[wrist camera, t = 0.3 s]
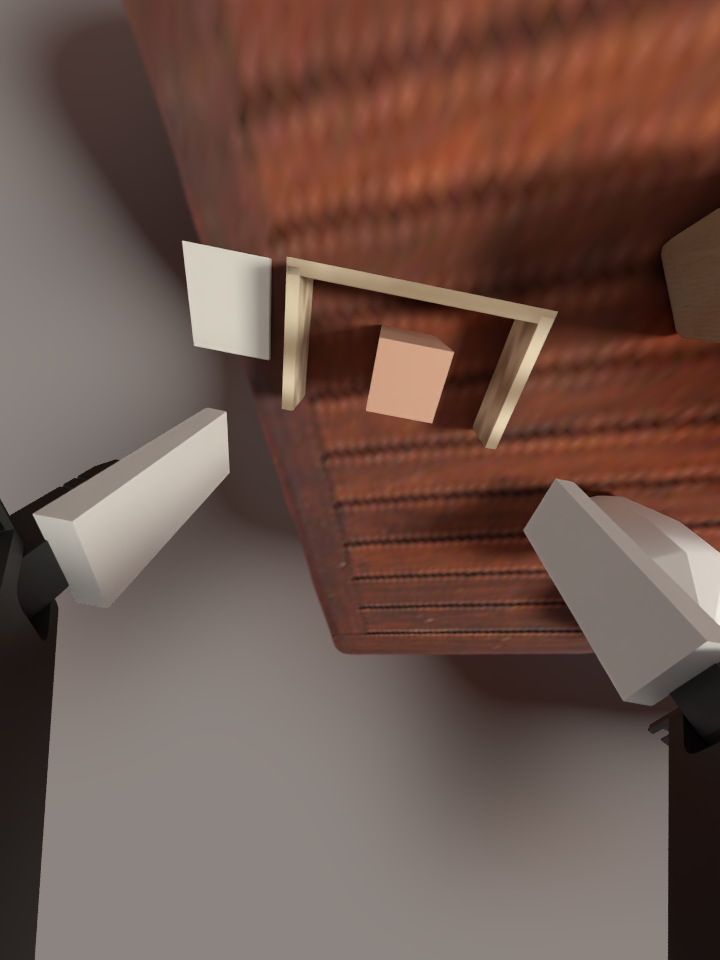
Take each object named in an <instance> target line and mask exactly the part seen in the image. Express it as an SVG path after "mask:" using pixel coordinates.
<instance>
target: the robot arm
mask: <svg viewBox="0 0 720 960" xmlns="http://www.w3.org/2000/svg"><path fill="white" fill-rule="evenodd" d="M228 474H229V454H228V435H227V414H226V411H221V410H215V409H211V408H205V409H203V410H202V411H200V412H198V413H197V414H195V415H194V416H192V417H191V418H189V419H187V420H185V421H184V422H182V423H180V424H179V425H177V426H176V427H174V428H172V429H171V430H169V431H167V432H166V433H164V434H163V435H161V436H159V437H158V438H156V439H154V440H153V441H151V442H149V443H148V444H146V445H144V446H143V447H141V448H140V449H138V450H136V451H135V452H133V453H131V454H130V455H128V456H126V457H125V458H123V459H122V460H113V461H110V462H107V463H103V464H100V465H97V466H94V467H93V468H91V469H89V470H87V471H86V472H84V473H82V474H81V475H79V476H78V478H74V479H72V480H70V481H69V482H67V483H65V484H64V486H63V487H58V488H56V489H55V490H53V491H51V492H49V493H48V494H46V495H44V496H43V497H41V498H39V499H37V500H36V501H34V502H32V503H30V504H29V505H27V506H25V507H24V508H22V509H20V510H18V511H17V512H15V513H13V514H11V515H10V516H9V514H8V512H7V510H6V508H5V507H4V505H3V503H2V501H1V499H0V960H35V945H36V932H37V916H38V902H39V887H40V873H41V872H40V871H41V857H42V842H43V828H44V813H45V799H46V784H47V770H48V754H49V741H50V726H51V725H50V724H51V711H52V696H53V682H54V667H55V652H56V638H57V623H58V605H57V602H56V600H55V598H56V597H57V596H58V595H59V594H60V593H62V591H64V590H65V589H66V588H67V587H69V589H70V591H71V593H72V595H73V597H74V599H75V601H76V602H77V603H82V604H88V605H93V606H99V607H104V608H109V606H110V605H111V604H112V603H113V602H114V601H115V600H116V598H117V597H118V596H119V595H120V594H121V593H122V592H123V591H124V590H125V589H126V587H127V586H128V585H129V584H130V583H131V582H132V581H133V580H134V579H135V577H136V576H137V575H138V574H139V573H140V571H142V569H143V568H144V567H145V566H146V565H147V564H148V563H149V562H150V561H151V560H152V558H153V557H154V556H155V555H156V554H157V553H158V552H159V551H160V549H161V548H162V547H163V546H164V545H165V544H166V543H167V542H168V541H169V540H170V538H171V537H172V536H173V535H174V534H175V533H176V532H177V531H178V529H179V528H180V527H181V526H182V525H183V524H184V523H185V522H186V521H187V519H188V518H189V517H190V516H191V515H192V514H193V513H194V511H196V509H197V508H198V507H199V506H200V505H201V504H202V503H203V501H204V500H205V499H206V498H207V497H208V496H209V495H210V494H211V493H212V492H213V490H214V489H215V488H216V487H217V486H218V485H219V484H220V483H221V481H222V480H223V479H224V478H225V477H226V476H227V475H228ZM523 531H524V533H525V534H526V536H527V538H528V540H529V541H530V543H531V545H532V546H533V548H534V550H535V551H536V553H537V555H538V557H539V558H540V560H541V562H542V563H543V565H544V567H545V568H546V570H547V572H548V574H549V575H550V577H551V579H552V580H553V582H554V584H555V586H556V587H557V589H558V591H559V592H560V594H561V596H562V597H563V599H564V601H565V603H566V604H567V606H568V608H569V609H570V611H571V613H572V614H573V616H574V618H575V620H576V621H577V623H578V625H579V626H580V628H581V630H582V631H583V633H584V635H585V637H586V638H587V640H588V642H589V643H590V645H591V647H592V648H593V650H594V652H595V654H596V655H597V657H598V659H599V660H600V662H601V664H602V665H603V667H604V669H605V670H606V672H607V674H608V676H609V677H610V679H611V681H612V683H613V684H614V686H615V687H616V689H617V691H618V693H619V694H620V696H621V698H622V699H623V701H627V702H633V703H638V704H643V705H649V706H652V705H654V704H656V703H657V702H659V701H660V700H662V699H663V698H665V697H666V696H668V695H669V694H670V695H671V696H672V698H673V699H674V701H675V702H676V704H677V705H678V706H679V707H678V708H677V709H675V710H673V711H672V712H670V713H669V714H667V715H665V716H663V717H662V718H660V719H659V720H657V721H655V722H654V723H652V724H650V726H649V728H648V731H650V732H651V733H652V734H654V733H656V732H657V731H659V730H661V729H665V730H667V731H669V735H667V736H665V737H664V738H662V739H661V740H662V741H663V742H664V743H665V744H667V745H668V746H669V839H668V840H669V841H668V842H669V843H668V844H669V848H668V852H669V854H668V855H669V856H668V865H669V866H668V960H720V626H719V625H718V624H717V623H716V622H715V621H714V620H713V619H712V618H711V617H710V616H709V615H708V614H707V613H706V612H705V611H704V610H703V609H702V608H701V607H700V606H699V605H698V604H697V603H696V602H695V601H694V600H693V599H692V598H691V597H690V596H689V595H688V594H687V593H686V592H685V591H684V590H683V589H682V588H681V587H680V586H679V585H678V584H677V583H676V582H675V581H674V580H673V579H672V578H671V577H670V576H669V575H668V574H667V573H666V572H665V571H664V570H662V569H661V568H660V567H659V566H658V565H657V564H656V563H655V562H654V561H653V560H652V559H651V558H650V557H649V556H648V555H647V554H646V553H645V552H644V551H643V550H642V549H641V548H640V547H639V546H638V545H637V544H636V543H635V542H634V541H633V540H632V539H631V538H630V537H629V536H628V535H627V534H626V533H625V532H624V531H623V530H622V529H621V528H620V527H619V526H618V525H617V524H616V523H615V522H614V521H613V520H612V519H611V518H610V517H609V516H608V515H607V514H606V513H605V512H604V511H603V510H602V509H601V508H600V507H598V506H597V505H596V504H595V503H594V502H593V501H592V500H591V499H590V498H589V497H588V496H587V495H586V494H585V493H584V492H583V491H582V490H581V489H580V488H579V487H578V486H577V485H576V484H575V483H574V482H570V481H565V480H560V479H555V480H554V482H553V483H552V485H551V486H550V488H549V490H548V491H547V493H546V494H545V496H544V498H543V499H542V501H541V503H540V504H539V506H538V507H537V509H536V511H535V512H534V514H533V515H532V517H531V519H530V520H529V522H528V523H527V525H526V527H525V528H524V530H523Z"/></svg>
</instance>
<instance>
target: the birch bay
mask: <svg viewBox="0 0 720 960" xmlns="http://www.w3.org/2000/svg"><path fill="white" fill-rule="evenodd" d="M314 279H316V280H321V281H326V282H331V283H336V284H341V285H346V286H351V287H356V288H361V289H366V290H371V291H376V292H381V293H386V294H391V295H396V296H401V297H406V298H411V299H416V300H421V301H426V302H431V303H436V304H441V305H446V306H451V307H456V308H461V309H466V310H470V311H475V312H480V313H485V314H490V315H495V316H500V317H505V318H510V319H515V320H514V323H513V325H512V328H511V330H510V333H509V335H508V338H507V340H506V343H505V346H504V348H503V351H502V353H501V356H500V358H499V361H498V363H497V366H496V369H495V371H494V374H493V376H492V379H491V381H490V384H489V386H488V389H487V391H486V394H485V397H484V399H483V402H482V404H481V407H480V409H479V412H478V414H477V417H476V419H475V422H474V425H473V427H472V428H473V429H474V431H475V432H476V434H477V435H478V437H479V439H480V440H481V442H482V443H483V445H484V446H485V447H486V448H491V449H496V447H497V445H498V443H499V441H500V438H501V436H502V434H503V432H504V430H505V427H506V425H507V423H508V421H509V419H510V416H511V414H512V412H513V410H514V408H515V405H516V403H517V401H518V399H519V397H520V394H521V392H522V390H523V388H524V386H525V383H526V381H527V379H528V377H529V375H530V372H531V370H532V368H533V366H534V364H535V361H536V359H537V357H538V355H539V353H540V350H541V348H542V346H543V344H544V342H545V339H546V337H547V335H548V333H549V331H550V328H551V326H552V324H553V322H554V320H555V317H556V315H557V313H558V311H553V310H548V309H543V308H538V307H533V306H528V305H523V304H518V303H513V302H509V301H504V300H499V299H494V298H489V297H484V296H479V295H474V294H469V293H464V292H459V291H454V290H449V289H444V288H439V287H434V286H430V285H425V284H420V283H415V282H410V281H405V280H400V279H395V278H390V277H385V276H380V275H375V274H370V273H365V272H360V271H355V270H351V269H346V268H341V267H336V266H331V265H326V264H321V263H316V262H311V261H306V260H301V259H296V258H291V257H287V269H286V299H285V329H284V359H283V389H282V409H286V410H291V411H293V410H294V408H295V407H296V406H297V405H298V403H299V402H300V401H301V400H302V399H303V397H304V396H305V389H306V375H307V361H308V348H309V334H310V320H311V307H312V293H313V280H314Z"/></svg>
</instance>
